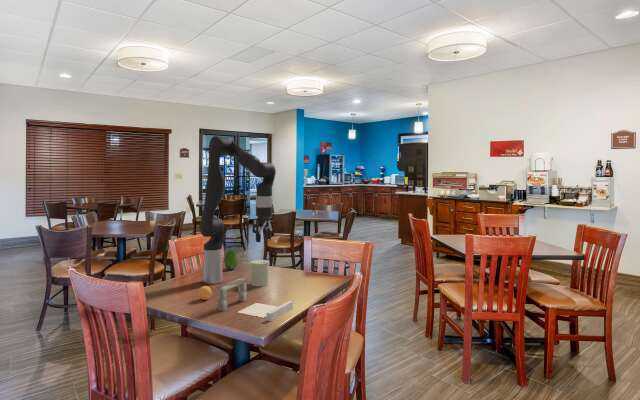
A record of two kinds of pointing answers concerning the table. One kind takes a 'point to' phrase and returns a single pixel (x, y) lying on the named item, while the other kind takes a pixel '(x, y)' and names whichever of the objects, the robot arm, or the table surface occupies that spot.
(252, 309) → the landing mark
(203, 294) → the ball
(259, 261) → the can
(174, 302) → the table surface
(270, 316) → the wall
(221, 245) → the robot arm
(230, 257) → the avocado
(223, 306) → the bridge
